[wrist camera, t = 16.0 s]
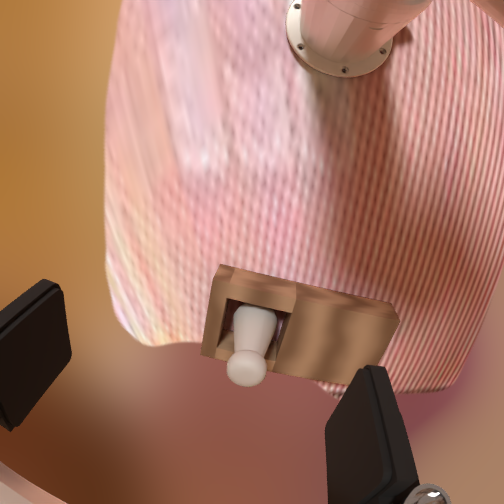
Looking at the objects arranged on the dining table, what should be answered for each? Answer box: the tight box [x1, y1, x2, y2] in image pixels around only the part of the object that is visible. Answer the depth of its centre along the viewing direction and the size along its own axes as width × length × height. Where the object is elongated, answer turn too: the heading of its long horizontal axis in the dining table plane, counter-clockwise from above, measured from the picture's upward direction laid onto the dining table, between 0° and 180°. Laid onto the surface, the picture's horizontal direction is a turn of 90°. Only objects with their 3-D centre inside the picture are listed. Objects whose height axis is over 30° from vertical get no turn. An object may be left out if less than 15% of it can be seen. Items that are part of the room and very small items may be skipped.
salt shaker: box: [227, 303, 277, 387], centre depth 37 cm, size 6×6×13 cm
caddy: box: [201, 264, 400, 385], centre depth 41 cm, size 24×12×4 cm, turn 78°
